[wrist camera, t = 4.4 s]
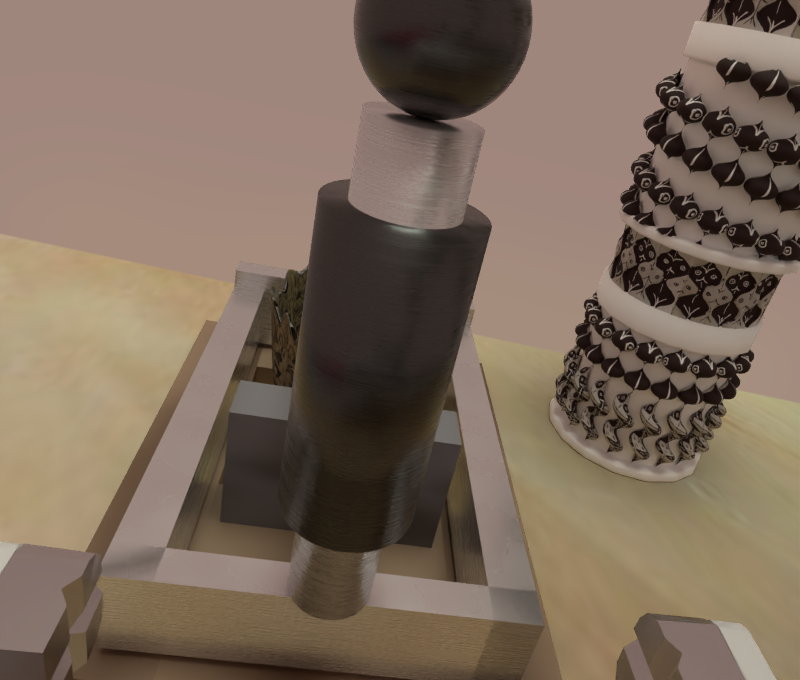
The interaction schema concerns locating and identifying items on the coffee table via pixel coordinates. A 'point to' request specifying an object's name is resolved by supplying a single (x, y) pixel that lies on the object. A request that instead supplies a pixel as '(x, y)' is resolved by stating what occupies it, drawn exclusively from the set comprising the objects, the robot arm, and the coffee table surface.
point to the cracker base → (263, 551)
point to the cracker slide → (357, 403)
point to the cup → (286, 325)
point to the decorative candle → (693, 250)
